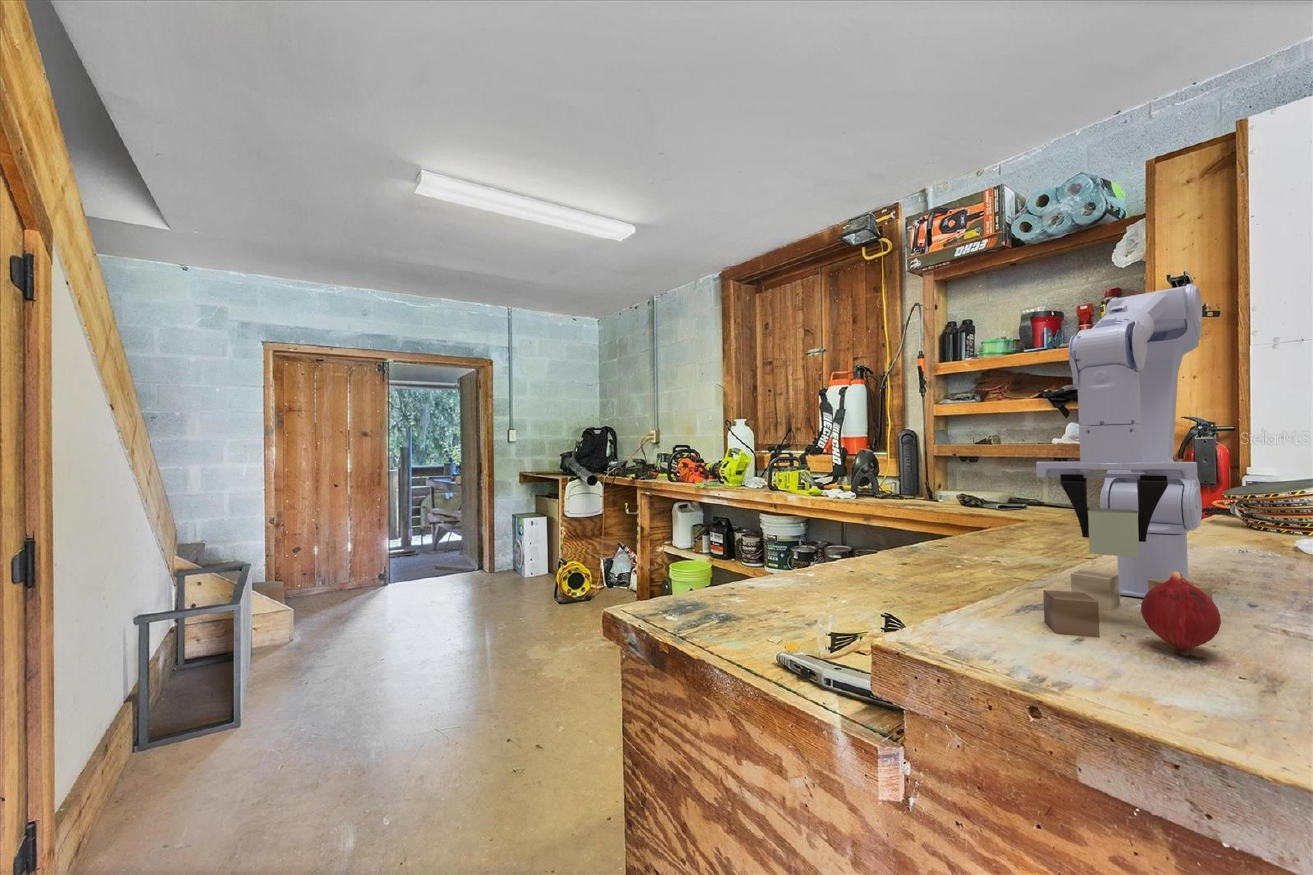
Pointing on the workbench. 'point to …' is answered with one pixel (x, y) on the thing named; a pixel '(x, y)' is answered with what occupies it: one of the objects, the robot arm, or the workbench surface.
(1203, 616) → the onion
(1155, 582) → the oak block
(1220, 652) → the workbench surface
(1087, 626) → the walnut block
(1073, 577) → the maple block
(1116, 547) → the sage block
